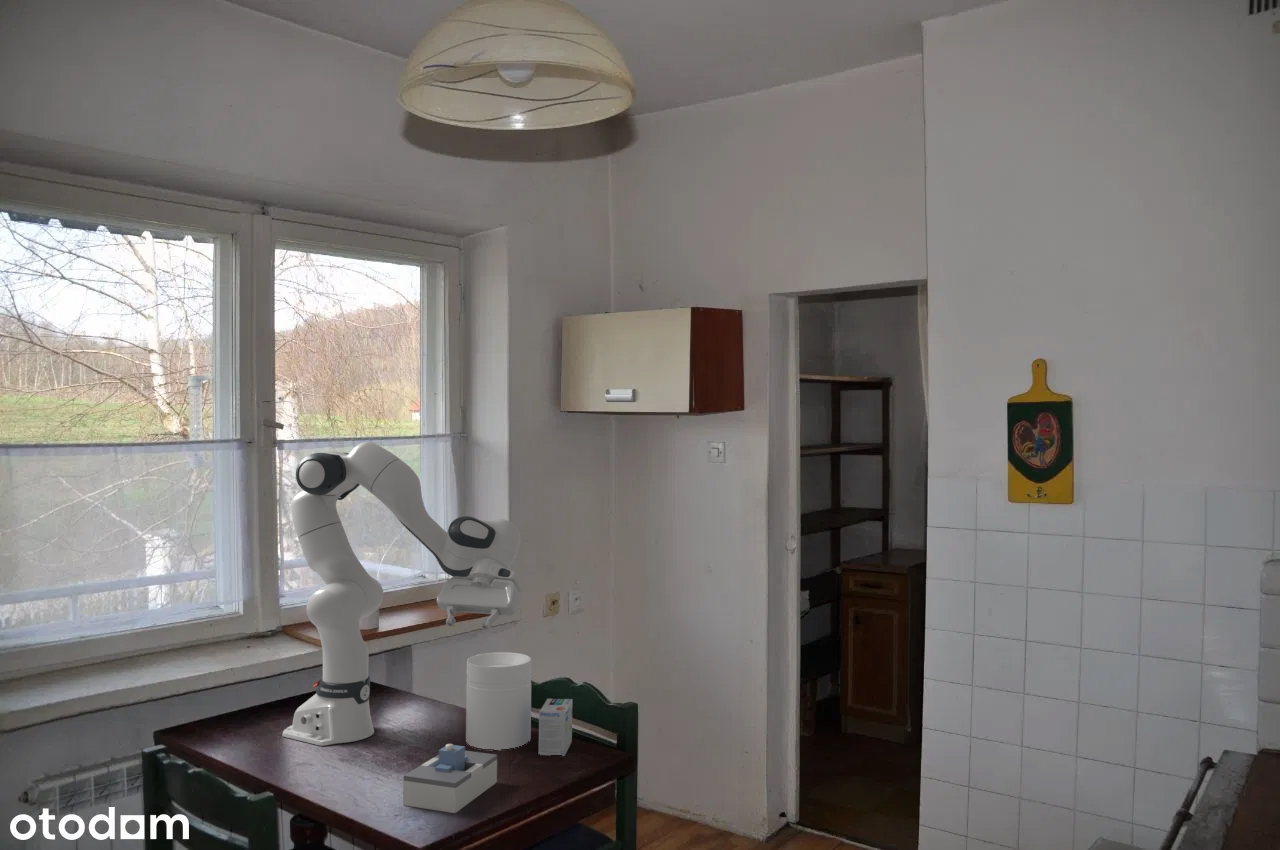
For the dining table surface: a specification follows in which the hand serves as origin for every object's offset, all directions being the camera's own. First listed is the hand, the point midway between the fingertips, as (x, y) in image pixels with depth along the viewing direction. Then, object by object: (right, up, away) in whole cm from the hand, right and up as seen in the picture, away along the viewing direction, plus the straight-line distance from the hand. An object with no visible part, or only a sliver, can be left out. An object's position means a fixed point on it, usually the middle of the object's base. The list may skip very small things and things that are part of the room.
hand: (467, 626), depth 218 cm
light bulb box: (+20, -32, +9) cm, 39 cm away
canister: (+5, -32, +15) cm, 36 cm away
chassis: (0, -31, -20) cm, 37 cm away
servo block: (0, -30, -20) cm, 36 cm away
